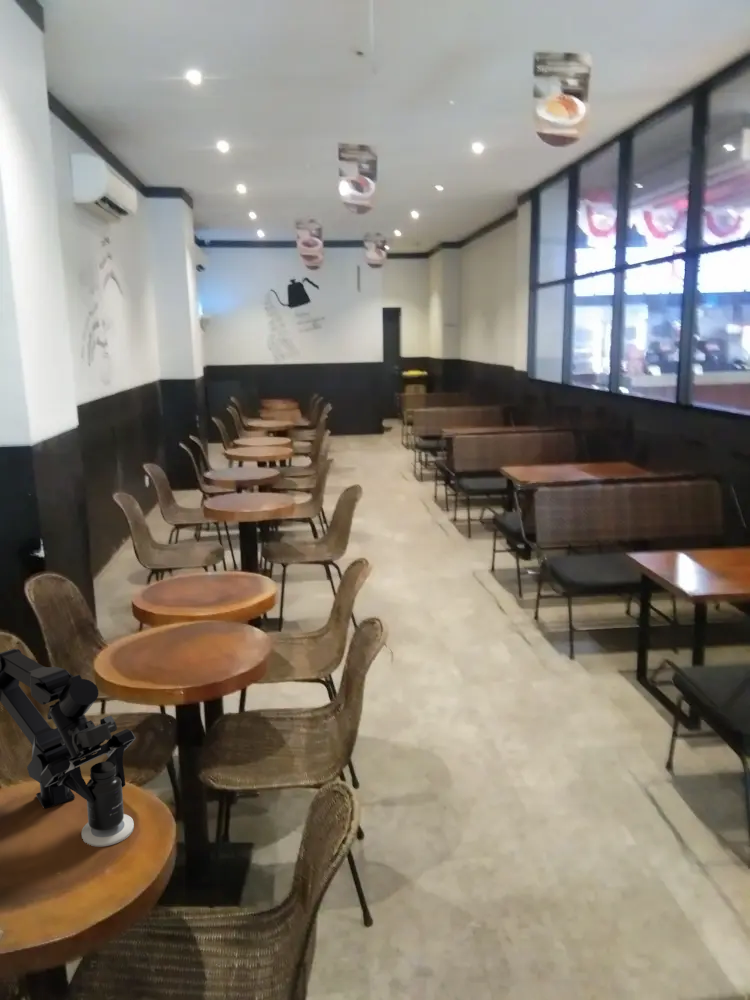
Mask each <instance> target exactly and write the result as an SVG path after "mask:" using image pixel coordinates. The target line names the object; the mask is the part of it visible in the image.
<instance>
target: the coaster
mask: <svg viewBox="0 0 750 1000" xmlns="http://www.w3.org/2000/svg"><path fill="white" fill-rule="evenodd" d="M134 823H135V822H134V820H133V818H132V817H131V816H130V815H128V814H126V813H124V818H123V820H122V822H121V823H120V824H119V825H118V826H116V827H115V828H112V829H109V830H104V831H98V830H94V829H92V828H91V827H90V826H89V823H88V822H87V823H85V825H84V826H83V828H82V829H81V840H82V839H83V840H82V841H83V842H84V843H85V844H86V843H87V844H86V845H88V844H89V845H88V846H90V845H91V846H92V847H96V848H99V847H100V848H101V847H109V846H113V845H116V844H118V843H120V842H123V841H124V840H126V839H127V838H128V837H129V836H131V835H132V833H133V832H134V829H135V824H134Z"/></svg>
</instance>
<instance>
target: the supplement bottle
mask: <svg viewBox="0 0 750 1000" xmlns="http://www.w3.org/2000/svg"><path fill="white" fill-rule="evenodd" d="M105 761H106V760H105ZM105 761H100V762H96V763H95V764H93V765H92V766H91V767H90V768H89V769H90V775H89V777H90V779H89V780H88V781H87V783H86V784H87V786H88V788H89V790H90V791H91V793H92V795H93V798H94V802H93V803H90V802H88V801H87V800H86V807H87V808H86V809H87V823H89V826H90V827H91V828H92V829H94V830H98V831H104V830H109V829H112V828H115V827H116V826H118V825H119V824H120V823H121V822H122V820H123V818H124V814H125V813H124V799H123V798H124V795H123V787H122V780H121V778H120V777H119V776H118V775H116V765H115V764H114V763H113V762H109V761H108V762H107V761H106V762H105Z"/></svg>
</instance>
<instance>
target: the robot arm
mask: <svg viewBox="0 0 750 1000" xmlns="http://www.w3.org/2000/svg"><path fill="white" fill-rule="evenodd" d="M20 683H22V684H24V685H25V686H27V687H29V688H30V695H31V697H32V698H33V699H34V700H35V701H36V702H37V703H38V704H40V705H46V704H49V703H52V702H55V701H56V702H55V703H54V704H51V705H50V706H49V707H48V708H49V709H48V712H47V719H48V720H52V721H53V723H54V726H55V727H56V728H52V727H51V726H50V724H49V723H48V722H47V720H46V719H45V718H44V716H43V715H42V714H41V712H40V711H39V710H38V708H37V707H36V706H35V705H34V703H33V702H32V700H31V699H30V698H29V697H28V696H27V694H26V692H25V691H24V690H23V689H22V687H21V685H20ZM98 697H99V688H98V686H97V684H95V683H94V682H92V681H91V680H89V679H87V678H82V676H81V675H80V674H76V675H73V674H72V673H70V672H69V671H68V670H67V669H65V668H63V667H62V668H61V667H58V666H48V667H47V666H44V665H42V664H40V663H39V662H37V661H35V660H34V659H32V658H30V657H28V656H26V655H25V654H23V653H22V651H21V650H20V649H19V648H11V649H8V650H5V651H1V652H0V703H1V704H2V707H4V708H5V710H6V711H7V713H8V714H9V715H10V716H11V718H12V720H14V722H15V724H16V725H17V726H18V728H19V729H20V730H21V732H22V733H23V735H24V736H25V737H26V738H27V740H28V741H29V743H30V744H31V746H32V750H31V751H32V752H31V761H30V762H29V764H28V765H27V766H26V767H27V772H28V773H27V774H28V776H29V777H30V778H31V779H32V780H34V781H36V782H38V783H39V787H40V789H39V790H40V791H39V792H38V793H36V794H35V796H36V799H37V800H38V801H39V803H40V805H41V807H42V808H43V809H48V808H51V807H54V806H57V805H60V804H62V803H65V802H69V801H71V800H74V799H75V798H76V796H75V794H74V793H76V794H77V795H79V796H80V797H82V798H83V799H84V800H85V801H86V802H87V801H88V802H90V803H93V802H94V798H93V795H92V793H91V791H90V790H89V788H88V786H87V783H86V781H85V779H84V777H83V775H82V770H81V766H82V765H84V764H86V763H88V762H90V761H93V760H96V759H97V758H99V757H101V756H104V755H106V757H107V758H106V760H105V761H104V762H106V761H107V762H108V761H109V762H113V763H114V764H115V765H116V775H118V776H119V777H120V778H121V780H122V788H125V786H126V779H125V778H126V777H125V771H124V769H125V768H124V753H125V751H126V749H128V748H129V747H130V746H131V745H132V743H133V742H134V741H135V740H136V739H137V738H136V736H135V734H134V732H133V731H132V730H130V729H128V728H125V729H122V730H121V731H118V732H117V729H118V727H117V723H116V721H115V719H114V718H113V716H112V715H108V716H105V717H103V718H101V719H100V723H99V724H97V725H95V723H94V722H93V720H92V719H91V720H88V718H87V717H86V713H88V711H89V710H90V709H91V707H92V706H93V705H94V703H95V702H96V701H97V699H98ZM57 700H58V701H57ZM115 731H116V732H117V733H115V734H113V735H112V734H111V733H113V732H115ZM105 741H107V742H106V743H104V742H105Z"/></svg>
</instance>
